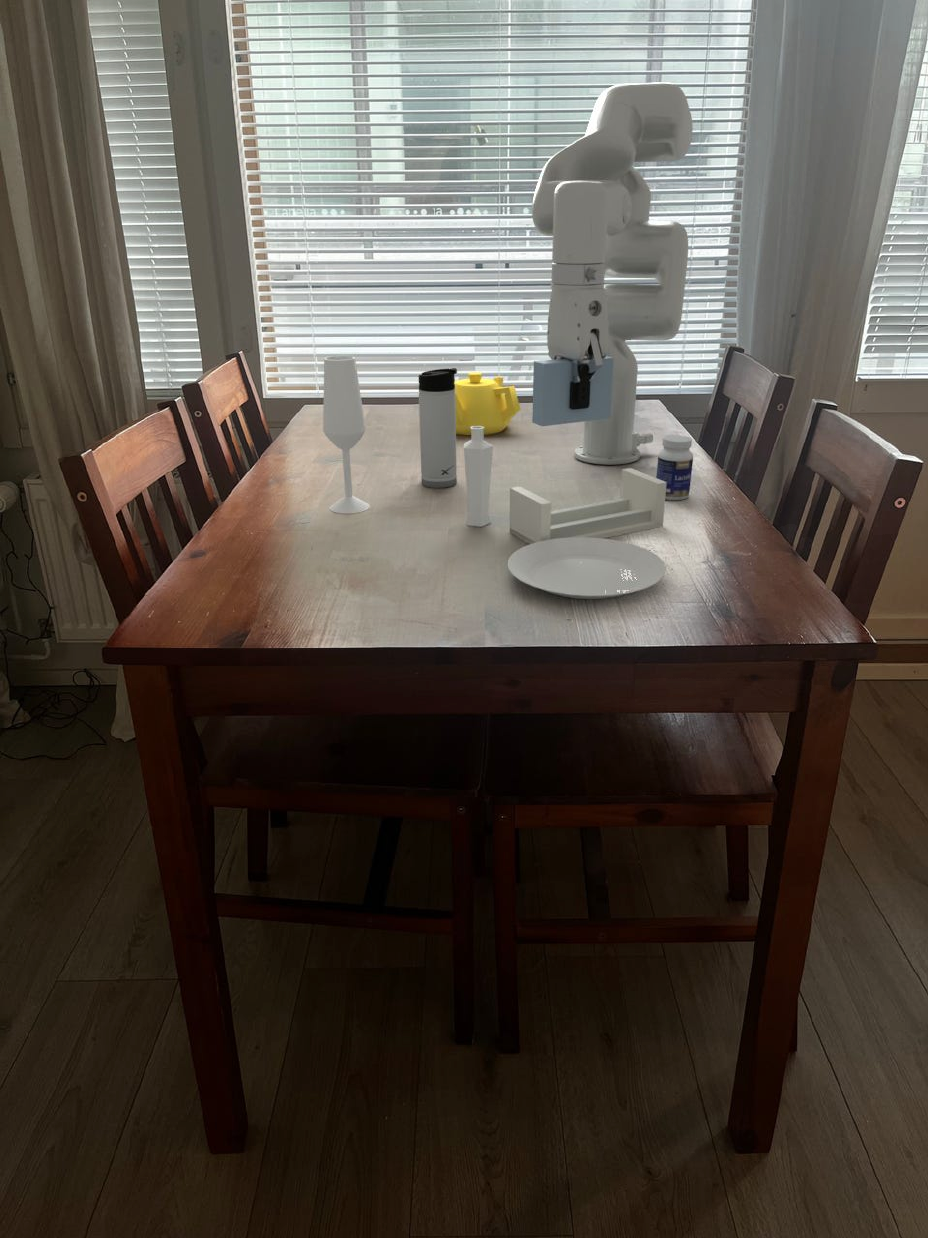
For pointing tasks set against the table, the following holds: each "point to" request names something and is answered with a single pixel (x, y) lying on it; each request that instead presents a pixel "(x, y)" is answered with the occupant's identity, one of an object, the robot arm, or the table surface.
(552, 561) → the plate
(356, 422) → the champagne flute
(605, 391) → the door panel
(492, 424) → the teapot
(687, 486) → the pill bottle
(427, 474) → the travel mug
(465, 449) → the perfume bottle
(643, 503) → the track frame
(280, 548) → the table surface
